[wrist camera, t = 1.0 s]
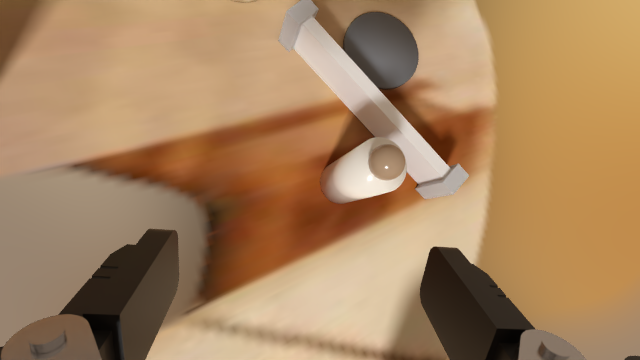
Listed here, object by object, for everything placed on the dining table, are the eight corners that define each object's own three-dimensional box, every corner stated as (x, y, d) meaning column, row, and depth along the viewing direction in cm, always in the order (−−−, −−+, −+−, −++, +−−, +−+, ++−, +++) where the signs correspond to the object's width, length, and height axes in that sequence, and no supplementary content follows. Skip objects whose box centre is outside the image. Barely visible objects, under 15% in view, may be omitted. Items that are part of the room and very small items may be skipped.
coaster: (327, 44, 42) (328, 41, 41) (378, 0, 45) (380, -3, 44) (382, 105, 43) (384, 103, 42) (429, 58, 46) (432, 56, 45)
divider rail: (278, 40, 40) (286, 11, 35) (296, 26, 41) (306, -5, 36) (424, 199, 42) (453, 194, 37) (439, 182, 43) (469, 175, 38)
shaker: (311, 181, 39) (354, 156, 26) (339, 153, 40) (393, 116, 27) (340, 212, 39) (396, 202, 26) (367, 183, 41) (433, 160, 28)
